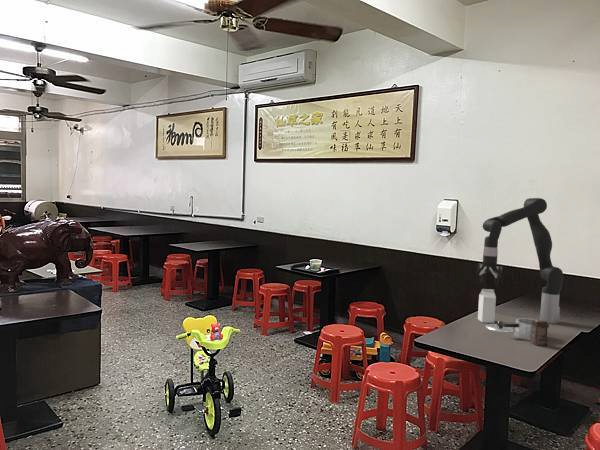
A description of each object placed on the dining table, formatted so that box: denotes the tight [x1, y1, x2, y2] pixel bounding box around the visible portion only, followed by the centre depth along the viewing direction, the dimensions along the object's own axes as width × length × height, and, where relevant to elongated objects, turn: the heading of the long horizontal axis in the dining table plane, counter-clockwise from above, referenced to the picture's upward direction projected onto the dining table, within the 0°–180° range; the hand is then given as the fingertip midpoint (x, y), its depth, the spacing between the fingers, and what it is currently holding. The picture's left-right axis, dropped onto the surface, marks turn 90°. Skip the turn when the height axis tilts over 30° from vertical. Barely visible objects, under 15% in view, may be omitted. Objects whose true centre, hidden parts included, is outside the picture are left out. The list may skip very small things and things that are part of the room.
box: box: [530, 319, 549, 346], centre depth 231 cm, size 6×4×12 cm
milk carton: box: [477, 288, 497, 324], centre depth 271 cm, size 7×7×19 cm
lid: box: [485, 320, 515, 334], centre depth 258 cm, size 15×15×4 cm
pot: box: [502, 317, 550, 341], centre depth 243 cm, size 25×14×8 cm, turn 95°
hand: (488, 283), depth 264 cm, fingers open, 8 cm apart
